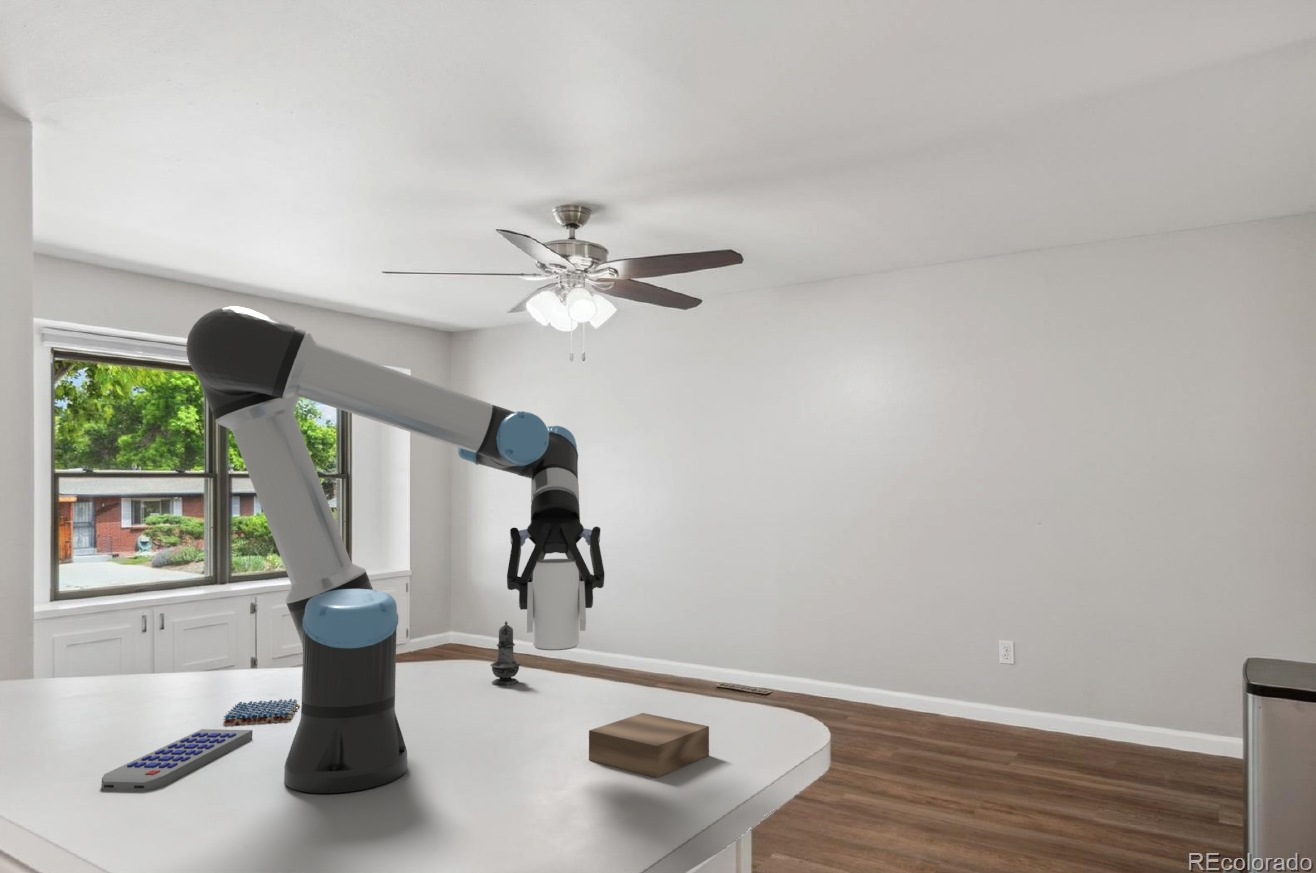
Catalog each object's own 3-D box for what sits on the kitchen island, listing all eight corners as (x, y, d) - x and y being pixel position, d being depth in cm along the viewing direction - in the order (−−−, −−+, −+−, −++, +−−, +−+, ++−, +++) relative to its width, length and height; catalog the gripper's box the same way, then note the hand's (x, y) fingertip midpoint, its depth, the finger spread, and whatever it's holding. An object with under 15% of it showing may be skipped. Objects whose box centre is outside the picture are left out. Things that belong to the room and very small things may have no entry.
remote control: (252, 743, 125) (253, 728, 126) (153, 794, 103) (154, 776, 103) (201, 741, 126) (202, 727, 126) (92, 793, 103) (93, 774, 104)
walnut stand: (657, 777, 108) (657, 746, 108) (588, 759, 115) (589, 730, 116) (709, 755, 118) (708, 726, 118) (642, 740, 125) (642, 712, 125)
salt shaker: (523, 679, 167) (524, 619, 167) (515, 686, 161) (516, 623, 162) (495, 679, 167) (496, 618, 168) (486, 685, 161) (487, 623, 162)
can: (523, 648, 115) (523, 561, 116) (550, 641, 121) (550, 557, 121) (562, 652, 112) (562, 562, 113) (587, 644, 118) (587, 559, 118)
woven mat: (219, 729, 132) (220, 716, 132) (235, 713, 142) (235, 701, 143) (290, 725, 135) (290, 712, 135) (300, 709, 145) (301, 697, 145)
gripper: (615, 519, 134) (625, 639, 117) (493, 521, 131) (485, 644, 114) (618, 486, 129) (629, 606, 112) (491, 487, 126) (482, 610, 109)
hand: (556, 625), depth 113 cm, fingers closed on can, 6 cm apart
